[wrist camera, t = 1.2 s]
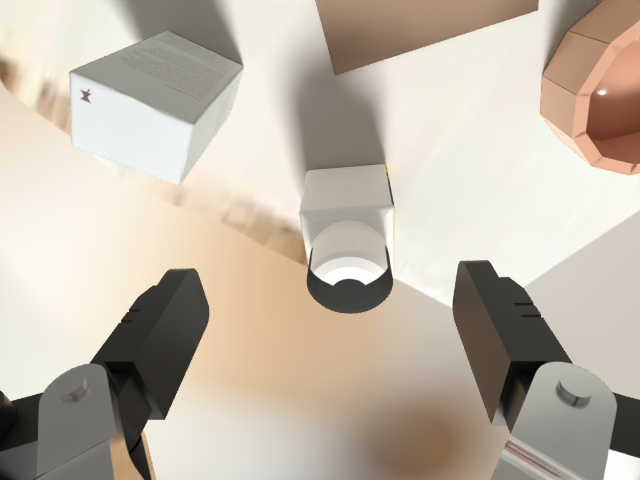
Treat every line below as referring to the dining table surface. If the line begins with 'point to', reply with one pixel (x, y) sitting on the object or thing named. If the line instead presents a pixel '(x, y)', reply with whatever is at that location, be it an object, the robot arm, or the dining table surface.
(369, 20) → the walnut lid
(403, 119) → the dining table surface
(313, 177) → the medicine bottle
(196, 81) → the skincare box
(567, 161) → the dining table surface
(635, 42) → the terracotta bowl
